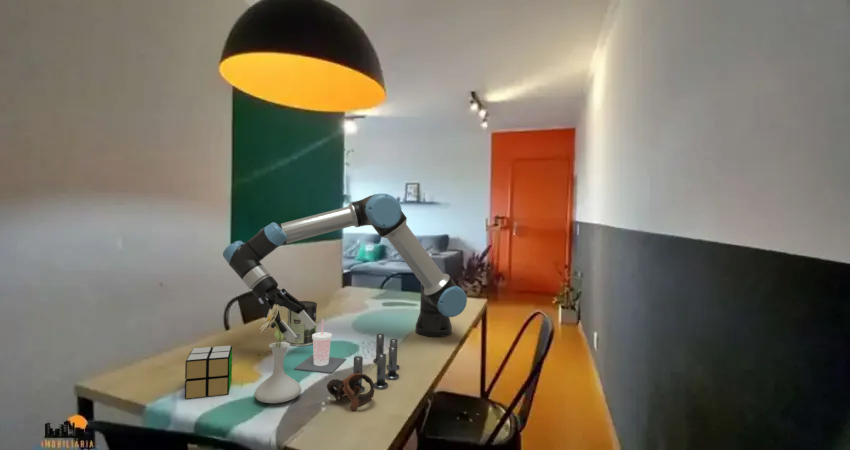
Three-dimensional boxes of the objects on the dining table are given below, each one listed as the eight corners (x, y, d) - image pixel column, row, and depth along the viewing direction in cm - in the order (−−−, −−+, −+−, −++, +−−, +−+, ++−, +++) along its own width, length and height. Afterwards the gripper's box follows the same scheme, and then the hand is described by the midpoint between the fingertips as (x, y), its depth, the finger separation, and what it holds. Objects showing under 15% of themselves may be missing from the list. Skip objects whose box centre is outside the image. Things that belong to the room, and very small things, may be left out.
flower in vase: (262, 388, 112) (264, 296, 112) (305, 388, 113) (307, 297, 112) (244, 411, 99) (247, 307, 98) (293, 411, 100) (296, 308, 99)
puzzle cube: (191, 384, 113) (192, 347, 113) (231, 380, 117) (232, 345, 117) (184, 400, 104) (185, 360, 104) (228, 395, 108) (229, 357, 107)
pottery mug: (368, 393, 113) (377, 372, 109) (366, 424, 104) (376, 403, 101) (325, 384, 110) (333, 363, 106) (319, 416, 102) (327, 393, 98)
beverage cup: (335, 361, 132) (336, 318, 132) (322, 368, 127) (324, 322, 126) (319, 358, 135) (320, 315, 134) (307, 364, 129) (308, 319, 129)
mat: (311, 356, 138) (311, 355, 138) (346, 359, 136) (346, 358, 136) (294, 369, 126) (294, 368, 126) (331, 373, 124) (331, 372, 124)
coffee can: (314, 336, 159) (315, 300, 158) (317, 345, 149) (318, 306, 149) (285, 338, 155) (286, 301, 154) (287, 347, 145) (288, 307, 145)
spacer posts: (375, 359, 137) (376, 332, 137) (407, 362, 135) (408, 335, 135) (347, 392, 111) (348, 359, 111) (387, 397, 110) (388, 363, 109)
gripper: (273, 284, 146) (312, 330, 144) (228, 298, 121) (275, 353, 119) (288, 270, 145) (327, 316, 143) (246, 281, 120) (292, 337, 118)
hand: (303, 333), depth 131 cm, fingers open, 13 cm apart
